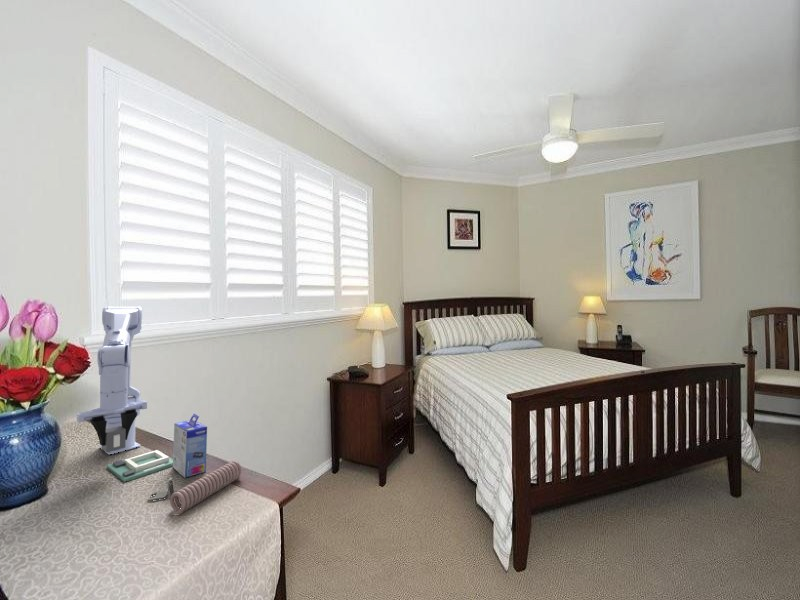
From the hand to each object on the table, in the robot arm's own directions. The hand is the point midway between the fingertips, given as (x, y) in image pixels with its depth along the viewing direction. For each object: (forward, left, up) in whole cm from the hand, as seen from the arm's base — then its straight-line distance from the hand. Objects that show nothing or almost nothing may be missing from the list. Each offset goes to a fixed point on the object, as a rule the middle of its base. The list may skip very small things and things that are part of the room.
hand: (113, 441), depth 95 cm
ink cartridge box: (+14, +13, -9) cm, 21 cm away
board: (+1, +6, -8) cm, 10 cm away
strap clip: (+24, +4, -9) cm, 26 cm away
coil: (+30, +10, -9) cm, 33 cm away
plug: (0, 0, -2) cm, 2 cm away
